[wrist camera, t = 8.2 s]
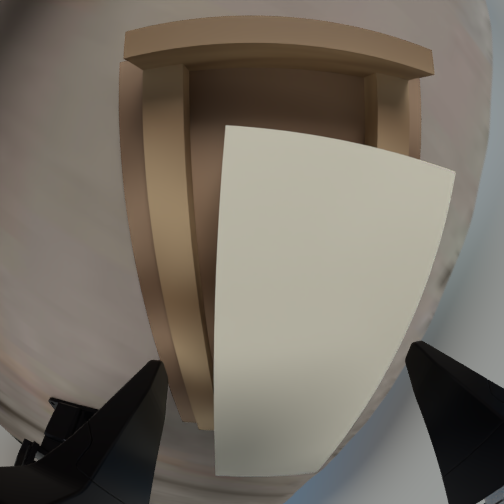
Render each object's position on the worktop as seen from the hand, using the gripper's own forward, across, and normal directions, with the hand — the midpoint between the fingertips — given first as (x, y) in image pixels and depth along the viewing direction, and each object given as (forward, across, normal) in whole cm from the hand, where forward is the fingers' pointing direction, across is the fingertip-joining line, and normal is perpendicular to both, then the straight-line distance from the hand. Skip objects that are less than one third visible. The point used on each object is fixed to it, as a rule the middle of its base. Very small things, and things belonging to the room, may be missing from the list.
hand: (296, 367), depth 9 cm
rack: (+6, 0, 0) cm, 6 cm away
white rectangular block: (+4, 0, 0) cm, 5 cm away
